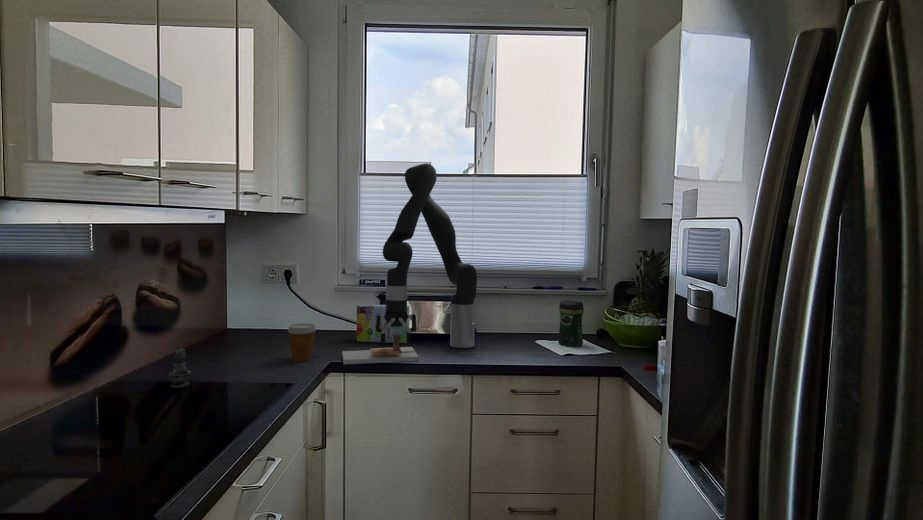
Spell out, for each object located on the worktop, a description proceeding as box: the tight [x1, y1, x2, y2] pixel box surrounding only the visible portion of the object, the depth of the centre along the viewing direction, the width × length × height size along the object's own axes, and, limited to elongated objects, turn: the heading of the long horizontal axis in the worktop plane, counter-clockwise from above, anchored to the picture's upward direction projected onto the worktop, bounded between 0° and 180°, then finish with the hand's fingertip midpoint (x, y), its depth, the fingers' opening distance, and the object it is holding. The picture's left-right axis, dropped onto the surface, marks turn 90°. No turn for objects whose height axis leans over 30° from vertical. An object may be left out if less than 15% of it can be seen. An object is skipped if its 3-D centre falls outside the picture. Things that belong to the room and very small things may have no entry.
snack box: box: [356, 304, 410, 344], centre depth 214 cm, size 21×6×15 cm, turn 84°
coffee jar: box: [557, 299, 584, 348], centre depth 214 cm, size 10×8×19 cm
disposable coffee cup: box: [287, 323, 317, 363], centre depth 182 cm, size 10×10×12 cm
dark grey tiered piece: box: [168, 343, 192, 389], centre depth 151 cm, size 6×6×12 cm
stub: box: [372, 333, 402, 355], centre depth 184 cm, size 10×5×6 cm, turn 105°
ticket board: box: [341, 346, 420, 365], centre depth 187 cm, size 26×13×2 cm, turn 105°
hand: (395, 343), depth 185 cm, fingers open, 8 cm apart
